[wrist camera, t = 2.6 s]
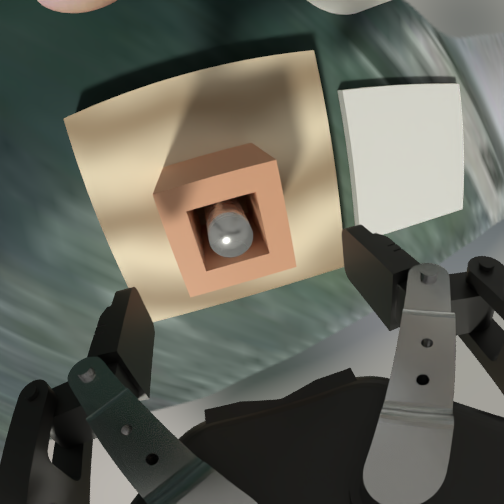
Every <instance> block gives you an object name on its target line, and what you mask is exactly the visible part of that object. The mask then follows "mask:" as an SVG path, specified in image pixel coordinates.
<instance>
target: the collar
mask: <svg viewBox="0 0 504 504" xmlns="http://www.w3.org/2000/svg"><path fill="white" fill-rule="evenodd" d="M152 195H153V198H154V201H155V204H156V207H157V210H158V212H159V215H160V218H161V221H162V224H163V227H164V229H165V232H166V235H167V238H168V240H169V243H170V246H171V249H172V251H173V254H174V257H175V259H176V262H177V264H178V267H179V270H180V272H181V275H182V277H183V280H184V282H185V285H186V288H187V290H188V293H189V295H190V298H191V297H194V296H198V295H201V294H205V293H208V292H212V291H216V290H219V289H223V288H226V287H230V286H233V285H237V284H240V283H243V282H247V281H250V280H254V279H257V278H261V277H264V276H267V275H271V274H274V273H278V272H281V271H284V270H288V269H291V268H294V267H297V266H296V260H295V255H294V249H293V243H292V238H291V232H290V227H289V222H288V216H287V211H286V206H285V200H284V195H283V190H282V185H281V180H280V175H279V170H278V165H277V160H276V159H274V158H273V157H272V156H270V155H269V154H267V153H266V152H264V151H263V150H262V149H260V148H259V147H257V146H256V145H254V144H253V143H248V144H244V145H240V146H236V147H232V148H228V149H224V150H221V151H217V152H213V153H210V154H206V155H203V156H199V157H196V158H192V159H189V160H185V161H182V162H179V163H175V164H172V165H169V166H166V167H163V169H162V171H161V174H160V176H159V179H158V181H157V184H156V187H155V189H154V192H153V194H152ZM242 195H244V196H245V200H246V204H247V208H248V212H247V213H244V214H245V216H246V218H247V220H248V222H249V224H250V226H251V228H252V231H253V241H252V244H251V246H250V247H249V249H248V250H247V251H246V252H245V253H243V254H242V255H240V256H237V257H231V258H228V257H223V256H220V255H218V254H217V253H215V252H214V251H213V249H212V248H211V246H210V243H209V238H208V231H207V224H205V225H201V224H200V221H199V217H198V214H197V211H196V208H200V207H203V206H207V205H210V204H214V203H217V202H221V201H224V200H228V199H231V198H235V197H239V196H242Z"/></svg>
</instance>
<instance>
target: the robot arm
mask: <svg viewBox="0 0 504 504" xmlns="http://www.w3.org/2000/svg"><path fill="white" fill-rule="evenodd" d="M342 246H343V258H344V268H345V271H346V274H347V277H348V279H349V280H350V281H351V283H352V284H353V285H354V286H355V288H356V289H357V290H358V291H359V293H360V294H361V295H362V296H363V298H364V299H365V300H366V301H367V303H368V304H369V305H370V306H371V308H372V309H373V310H374V312H375V313H376V314H377V315H378V317H379V318H380V319H381V320H382V322H383V323H384V324H385V326H386V327H387V328H388V329H389V331H391V330H394V329H396V328H398V327H400V331H399V336H398V341H397V347H396V352H395V357H394V362H393V367H392V372H391V376H390V379H388V378H383V377H375V376H364V377H355V375H354V374H353V372H352V370H351V368H348V369H346V370H343V371H340V372H337V373H334V374H332V375H329V376H326V377H323V378H320V379H317V380H315V381H313V382H312V383H310V384H308V385H306V386H304V387H302V388H301V389H299V390H297V391H295V392H293V393H292V394H290V395H288V396H286V397H284V398H282V399H277V400H264V401H244V402H237V403H233V404H229V405H224V406H221V407H216V408H211V409H206V410H205V420H206V421H204V422H202V423H200V424H198V425H196V426H194V427H193V428H191V429H190V430H189V431H187V432H186V433H185V434H184V435H183V436H181V437H180V438H179V439H177V438H176V437H175V436H174V435H173V434H172V433H171V432H170V431H169V430H168V429H167V428H166V427H165V426H164V425H163V424H162V423H161V422H160V421H159V420H158V419H157V418H156V417H155V416H154V415H153V414H152V413H151V412H150V411H149V410H148V409H147V408H146V407H145V406H144V405H143V404H142V403H141V402H140V400H146V399H149V397H150V382H151V369H152V357H153V346H154V336H155V331H154V325H153V322H152V319H151V317H150V315H149V313H148V311H147V309H146V307H145V305H144V303H143V300H142V298H141V296H140V294H139V292H138V290H137V289H136V288H135V287H131V288H127V289H124V290H120V291H117V292H116V293H115V296H114V299H113V302H112V305H111V306H110V307H107V308H106V310H105V311H104V312H103V313H102V315H101V316H100V318H99V321H98V324H97V327H96V331H95V335H94V337H93V340H92V343H91V346H90V350H89V353H88V356H87V358H85V359H82V360H81V361H79V362H78V363H76V364H75V365H74V366H73V368H72V369H71V370H70V372H69V375H68V382H66V383H63V384H61V385H59V386H57V387H54V388H52V389H51V387H50V386H49V385H48V384H47V383H46V382H45V381H44V380H35V381H32V382H31V383H29V384H28V385H27V386H25V387H24V389H23V390H22V391H21V393H20V395H19V397H18V400H17V404H16V407H15V410H14V413H13V417H12V420H11V424H10V427H9V431H8V434H7V438H6V442H5V446H4V450H3V455H2V459H1V463H0V504H90V474H91V458H92V444H93V439H95V438H98V439H99V441H100V442H101V444H102V445H103V447H104V448H105V449H106V451H107V452H108V454H109V455H110V457H111V458H112V459H113V461H114V462H115V464H116V465H117V466H118V468H119V469H120V470H121V472H122V473H123V474H124V476H125V477H126V478H127V479H128V481H129V482H130V483H131V484H132V486H133V487H134V488H135V489H136V490H137V492H138V494H137V496H136V497H135V498H134V500H133V501H132V502H131V504H504V417H500V416H497V415H493V414H491V413H487V412H484V411H481V410H478V409H475V408H472V407H469V406H465V405H463V404H459V403H457V402H454V401H453V397H454V382H455V360H456V358H455V357H456V335H458V336H459V337H460V338H461V339H462V341H463V342H464V343H465V344H466V346H467V347H468V348H469V349H470V351H471V352H472V353H473V354H474V356H475V357H476V358H477V360H478V361H479V362H480V363H481V365H482V366H483V367H484V369H485V370H486V371H487V373H488V374H489V375H490V377H491V378H492V379H493V381H494V382H495V383H496V385H497V386H498V387H499V389H500V390H501V392H502V393H503V394H504V330H503V329H502V328H501V327H500V326H499V325H498V324H497V323H496V322H495V321H494V320H493V319H492V317H493V313H494V310H495V311H496V312H497V313H498V314H499V315H500V316H501V317H502V318H503V320H504V265H503V264H501V263H500V262H499V261H497V260H496V259H493V258H491V257H486V256H478V257H474V258H472V259H471V260H470V261H469V262H468V267H467V272H462V273H456V274H448V272H447V270H445V269H444V268H443V267H441V266H439V265H436V264H432V263H422V264H420V263H419V262H417V261H416V260H415V259H414V258H413V257H411V256H410V255H409V254H408V253H407V252H405V251H404V250H403V249H401V247H399V246H398V245H397V244H396V245H395V243H394V242H393V241H392V240H391V239H389V238H388V237H386V236H383V235H381V234H378V233H374V234H373V233H371V232H370V231H369V230H368V229H366V228H365V227H364V226H363V225H361V224H360V225H356V226H353V227H349V228H346V229H343V230H342ZM50 437H51V438H52V439H53V440H54V441H55V446H54V452H53V459H52V463H51V461H50V459H49V457H48V452H47V450H48V444H49V438H50Z"/></svg>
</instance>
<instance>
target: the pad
mask: <svg viewBox="0 0 504 504" xmlns="http://www.w3.org/2000/svg"><path fill="white" fill-rule="evenodd" d="M337 91H338V96H339V102H340V108H341V114H342V120H343V126H344V133H345V139H346V146H347V154H348V161H349V169H350V178H351V187H352V197H353V207H354V218H355V226H356V225H360V224H361V225H363V226H364V227H365V228H366V229H368V230H369V231H370V232H371V233H373V234H374V233H378V234H381V235H383V234H386V233H390V232H393V231H396V230H399V229H402V228H405V227H408V226H412V225H415V224H418V223H421V222H424V221H427V220H430V219H433V218H436V217H440V216H443V215H446V214H449V213H452V212H455V211H458V210H461V209H463V189H464V141H463V121H462V108H461V97H460V88H459V84H456V83H427V84H402V85H386V86H374V87H363V88H353V89H344V90H337Z"/></svg>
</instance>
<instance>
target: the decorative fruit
mask: <svg viewBox="0 0 504 504" xmlns="http://www.w3.org/2000/svg"><path fill="white" fill-rule="evenodd" d="M37 1H38V2H39V3H41V4H42V5H43V6H45V7H47V8H49V9H51V10H54V11H58V12H63V13H83V12H89V11H93V10H96V9H99V8H102V7H105V6H107V5H109V4H111V3H113V2H115V1H117V0H37Z"/></svg>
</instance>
